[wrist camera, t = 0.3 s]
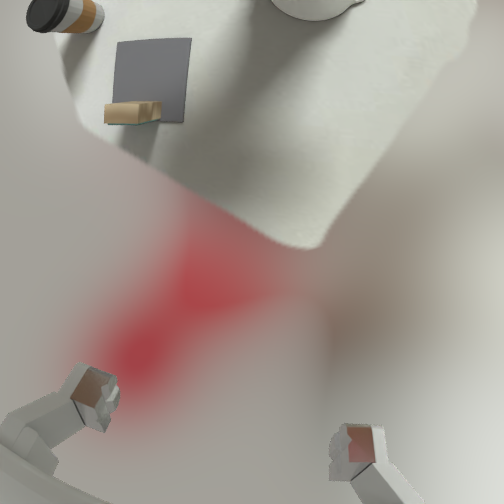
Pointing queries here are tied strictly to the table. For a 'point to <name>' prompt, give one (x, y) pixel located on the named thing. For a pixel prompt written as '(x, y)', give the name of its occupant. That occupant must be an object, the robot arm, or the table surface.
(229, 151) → the table surface
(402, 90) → the table surface
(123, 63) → the mat
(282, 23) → the table surface
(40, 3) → the coffee cup
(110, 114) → the plaque
